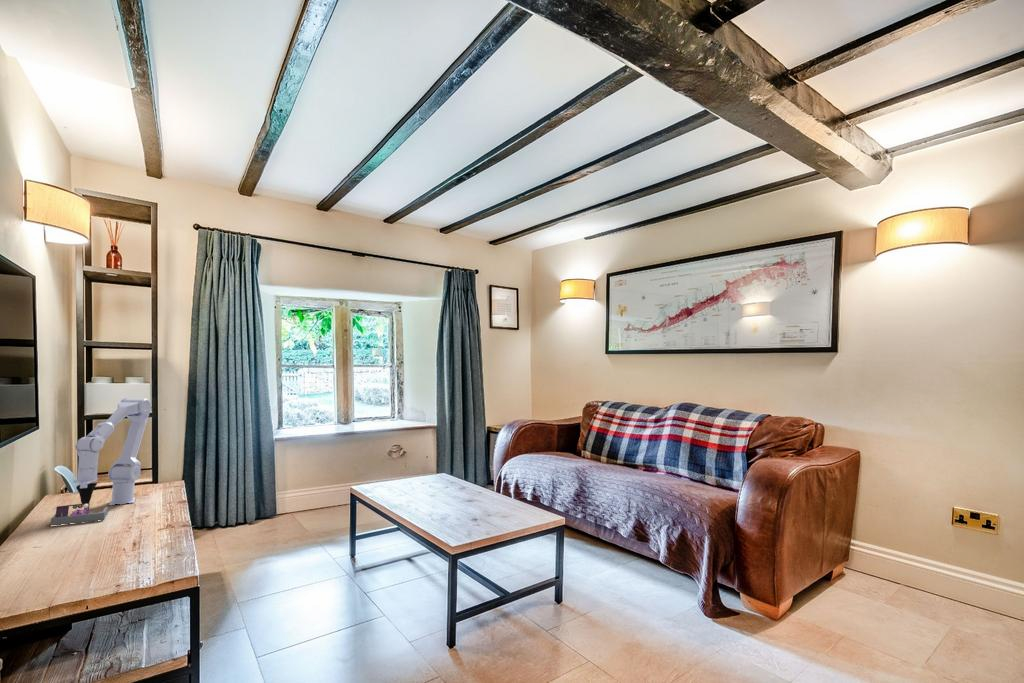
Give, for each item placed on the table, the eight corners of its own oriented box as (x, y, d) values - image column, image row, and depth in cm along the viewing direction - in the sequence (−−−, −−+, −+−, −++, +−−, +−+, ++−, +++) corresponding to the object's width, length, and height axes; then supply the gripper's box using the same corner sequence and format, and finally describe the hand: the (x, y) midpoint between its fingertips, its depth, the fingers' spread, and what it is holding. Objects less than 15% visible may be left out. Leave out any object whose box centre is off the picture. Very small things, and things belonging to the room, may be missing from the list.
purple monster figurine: (56, 506, 171) (89, 502, 176) (58, 508, 175) (90, 504, 180) (53, 525, 169) (87, 521, 174) (55, 527, 172) (88, 522, 178)
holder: (56, 520, 175) (56, 512, 175) (107, 514, 183) (108, 506, 183) (50, 527, 168) (50, 518, 168) (103, 520, 176) (104, 512, 176)
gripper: (78, 465, 187) (75, 500, 187) (70, 472, 175) (67, 509, 175) (101, 463, 191) (99, 497, 191) (95, 470, 179) (92, 506, 179)
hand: (85, 503), depth 183 cm, fingers closed
